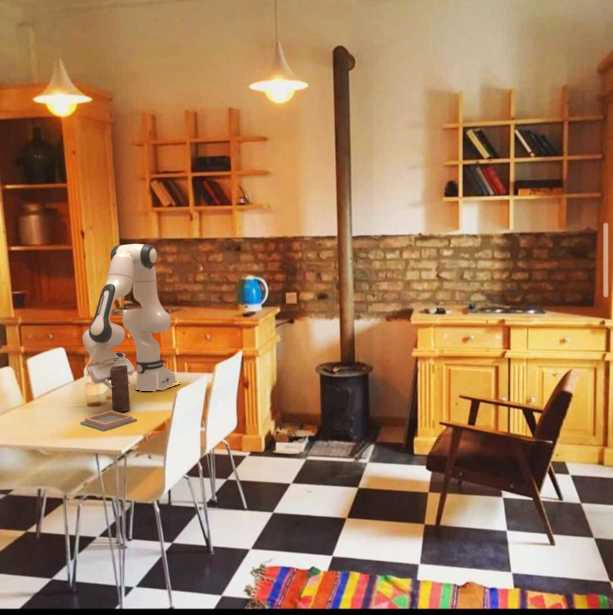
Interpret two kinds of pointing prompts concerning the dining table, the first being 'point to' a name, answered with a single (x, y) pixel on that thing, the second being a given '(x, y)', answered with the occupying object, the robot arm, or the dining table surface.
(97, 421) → the plate
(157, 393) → the dining table surface
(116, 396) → the candle
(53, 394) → the dining table surface
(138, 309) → the robot arm
